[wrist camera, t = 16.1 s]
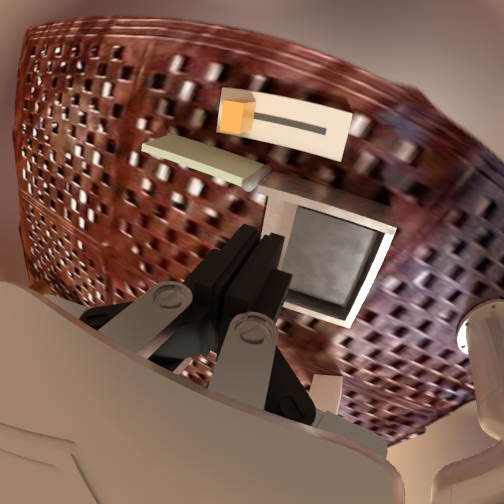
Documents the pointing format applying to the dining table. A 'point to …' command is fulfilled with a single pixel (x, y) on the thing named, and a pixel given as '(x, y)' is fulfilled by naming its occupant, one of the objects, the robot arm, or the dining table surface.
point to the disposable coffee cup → (41, 287)
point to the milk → (326, 392)
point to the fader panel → (293, 123)
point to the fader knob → (237, 116)
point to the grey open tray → (326, 244)
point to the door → (209, 160)
